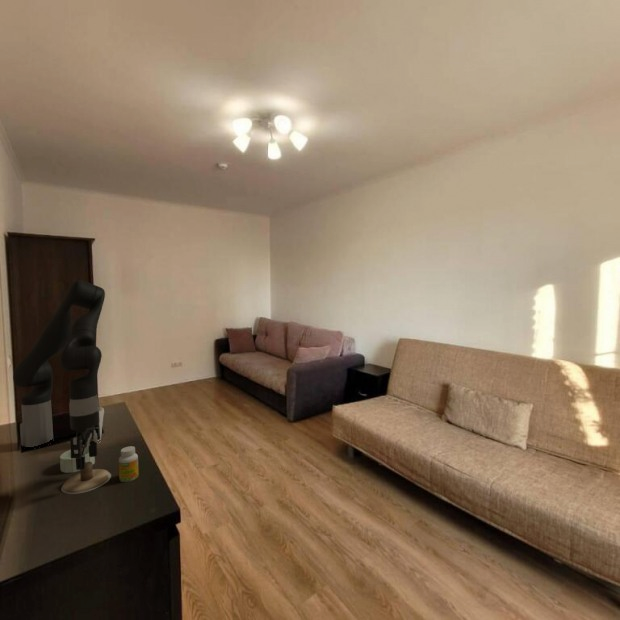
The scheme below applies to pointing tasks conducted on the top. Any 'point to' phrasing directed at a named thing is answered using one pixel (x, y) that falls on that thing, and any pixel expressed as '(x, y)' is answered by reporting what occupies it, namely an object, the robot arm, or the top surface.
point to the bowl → (72, 461)
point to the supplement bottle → (128, 464)
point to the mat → (86, 490)
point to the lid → (86, 479)
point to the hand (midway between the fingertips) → (87, 462)
